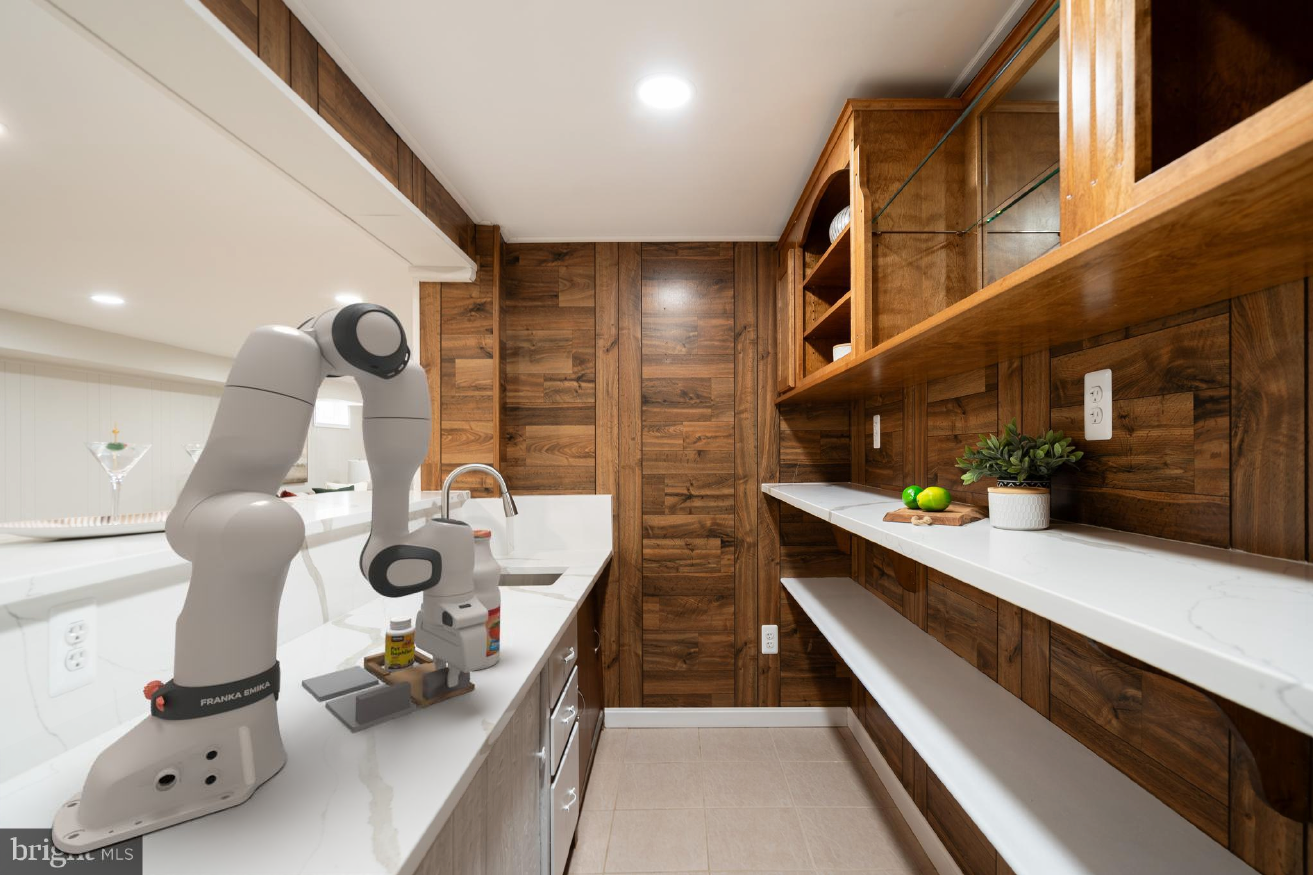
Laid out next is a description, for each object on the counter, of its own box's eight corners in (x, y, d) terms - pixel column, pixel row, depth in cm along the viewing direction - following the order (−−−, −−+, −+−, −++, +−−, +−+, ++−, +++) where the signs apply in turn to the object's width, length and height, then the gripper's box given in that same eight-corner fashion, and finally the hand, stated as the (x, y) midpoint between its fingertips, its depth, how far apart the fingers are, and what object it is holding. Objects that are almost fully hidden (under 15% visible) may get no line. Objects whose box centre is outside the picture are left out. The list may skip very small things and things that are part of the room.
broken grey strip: (353, 732, 83) (353, 701, 83) (301, 684, 101) (302, 659, 101) (416, 710, 91) (416, 682, 91) (358, 669, 108) (359, 645, 108)
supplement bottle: (386, 675, 105) (387, 624, 106) (382, 666, 110) (384, 616, 110) (416, 669, 108) (417, 619, 109) (411, 660, 113) (413, 612, 113)
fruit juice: (451, 658, 114) (454, 529, 116) (495, 651, 118) (498, 527, 120) (455, 674, 106) (458, 535, 107) (503, 666, 110) (505, 532, 111)
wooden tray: (421, 707, 92) (422, 679, 92) (363, 667, 109) (364, 643, 109) (474, 688, 99) (475, 662, 99) (412, 653, 116) (412, 632, 117)
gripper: (406, 599, 101) (404, 672, 100) (460, 621, 88) (458, 705, 87) (438, 593, 106) (436, 662, 105) (493, 613, 92) (492, 693, 92)
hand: (446, 682), depth 96 cm, fingers closed on wooden tray, 2 cm apart
